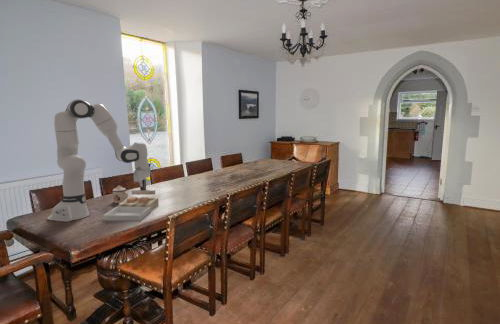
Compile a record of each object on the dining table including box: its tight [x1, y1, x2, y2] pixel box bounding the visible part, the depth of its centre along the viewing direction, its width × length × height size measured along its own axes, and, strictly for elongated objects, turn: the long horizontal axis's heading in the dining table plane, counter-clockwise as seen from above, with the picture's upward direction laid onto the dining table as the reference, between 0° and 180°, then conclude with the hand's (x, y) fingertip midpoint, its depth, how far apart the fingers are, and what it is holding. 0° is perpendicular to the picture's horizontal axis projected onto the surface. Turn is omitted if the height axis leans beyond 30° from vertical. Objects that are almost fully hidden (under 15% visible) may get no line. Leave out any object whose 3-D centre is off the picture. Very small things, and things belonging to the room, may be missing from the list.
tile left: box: [127, 196, 138, 202], centre depth 197 cm, size 5×5×2 cm
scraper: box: [131, 179, 156, 196], centre depth 204 cm, size 16×3×10 cm, turn 88°
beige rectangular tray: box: [118, 196, 160, 211], centre depth 199 cm, size 20×17×5 cm
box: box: [102, 205, 152, 222], centre depth 182 cm, size 22×17×4 cm
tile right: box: [139, 196, 150, 202], centre depth 196 cm, size 5×5×2 cm
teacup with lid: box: [112, 185, 129, 204], centre depth 212 cm, size 12×9×12 cm
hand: (142, 185), depth 204 cm, fingers closed on scraper, 3 cm apart
